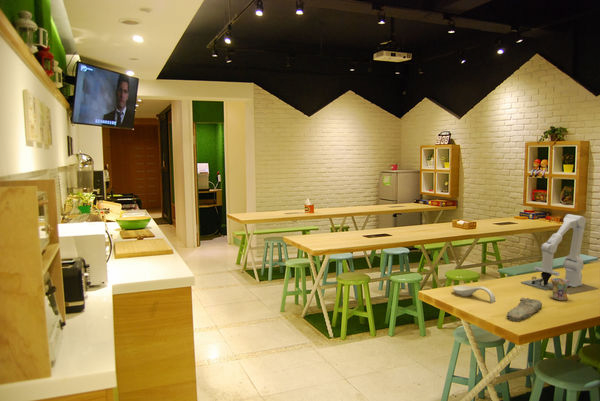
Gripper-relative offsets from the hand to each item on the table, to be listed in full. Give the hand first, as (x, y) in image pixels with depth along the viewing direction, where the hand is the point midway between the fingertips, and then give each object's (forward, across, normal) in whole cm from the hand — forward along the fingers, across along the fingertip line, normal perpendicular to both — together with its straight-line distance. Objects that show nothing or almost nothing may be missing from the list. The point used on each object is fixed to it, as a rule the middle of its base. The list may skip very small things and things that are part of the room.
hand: (545, 284), depth 273 cm
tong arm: (+1, -5, +4) cm, 6 cm away
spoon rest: (+3, -9, -53) cm, 54 cm away
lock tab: (+1, -11, +5) cm, 12 cm away
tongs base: (+1, -7, +4) cm, 8 cm away
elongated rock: (+3, +20, -50) cm, 54 cm away
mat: (+2, -5, +3) cm, 6 cm away
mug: (+2, +14, -12) cm, 19 cm away
